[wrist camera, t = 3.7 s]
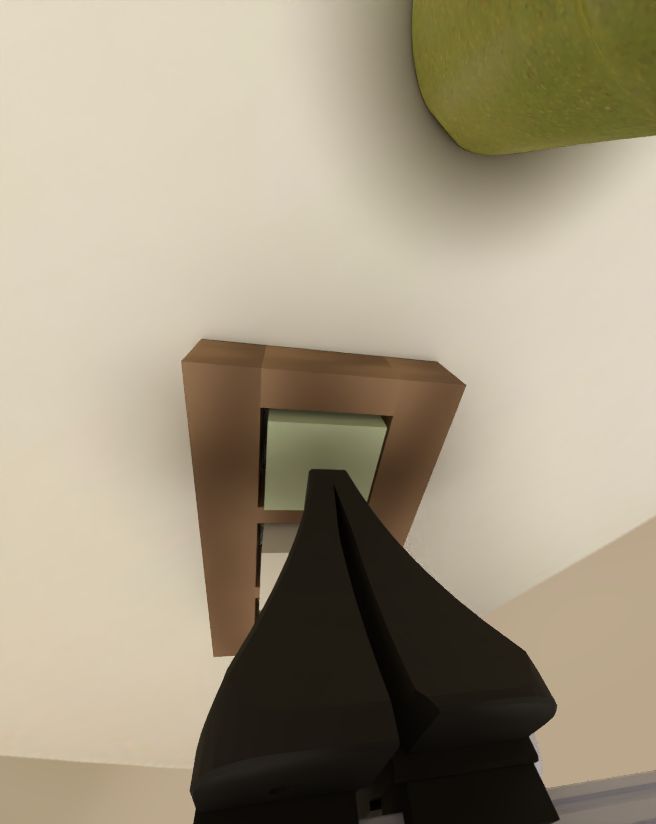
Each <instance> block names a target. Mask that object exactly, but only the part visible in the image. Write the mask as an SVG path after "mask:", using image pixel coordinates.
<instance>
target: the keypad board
mask: <svg viewBox="0 0 656 824" xmlns="http://www.w3.org/2000/svg"><path fill="white" fill-rule="evenodd" d="M181 363H182V372H183V382H184V391H185V400H186V409H187V418H188V427H189V437H190V446H191V455H192V464H193V473H194V482H195V491H196V501H197V510H198V519H199V528H200V537H201V546H202V556H203V565H204V574H205V583H206V592H207V601H208V611H209V620H210V629H211V638H212V647H213V656H214V657H221V656H235V655H236V654H237V652H238V651H239V649H240V647H241V646H242V644H243V642H244V641H245V639H246V637H247V636H248V634H249V632H250V630H251V629H252V627H253V625H254V623H255V621H256V620H257V618H258V616H259V613H260V610H259V601H258V598H260V575H261V552H262V546H259V544H260V523H300V522H301V519H302V516H303V512H304V510H264V500H265V477H266V470H262V458H263V429H264V408H275V409H291V410H307V411H323V412H339V413H355V414H371V415H381V417H382V419H383V421H384V423H385V425H386V427H387V430H386V434H385V437H384V441H383V445H382V448H381V452H380V456H379V459H378V463H377V467H376V470H375V474H374V478H373V481H372V485H371V489H370V492H369V496H368V500H367V503H368V505H369V506H370V507H371V509H372V510H373V511H374V513H375V514H376V515H377V517H378V518H379V519H380V521H381V522H382V523H383V524H384V526H385V527H386V528H387V529H388V531H389V532H390V533H391V534H392V535H393V537H394V538H395V539H396V540H397V541H398V542H399V544H400V545H401V546H402V547H403V545H404V543H405V540H406V538H407V535H408V532H409V530H410V527H411V525H412V522H413V520H414V517H415V515H416V512H417V510H418V507H419V504H420V502H421V499H422V497H423V494H424V492H425V489H426V487H427V484H428V482H429V479H430V476H431V474H432V471H433V469H434V466H435V464H436V461H437V459H438V456H439V454H440V451H441V448H442V446H443V443H444V441H445V438H446V436H447V433H448V431H449V428H450V426H451V423H452V420H453V418H454V415H455V413H456V410H457V408H458V405H459V403H460V400H461V398H462V395H463V392H464V390H465V387H466V385H465V384H464V383H463V382H462V381H460V380H459V379H458V378H457V377H455V376H454V375H453V374H452V373H450V372H449V371H448V370H447V369H446V368H444V367H443V366H442V365H441V364H439V363H438V362H432V361H422V360H412V359H401V358H391V357H380V356H370V355H360V354H349V353H339V352H328V351H318V350H308V349H297V348H287V347H276V346H266V345H256V344H245V343H235V342H224V341H214V340H204V339H201V340H200V341H199V342H198V344H197V345H196V346H195V347H194V348H193V349H192V350H191V351H190V352H189V353H188V355H187V356H186V357H185V358H184V359H183V360H182V361H181ZM257 601H258V602H257Z"/></svg>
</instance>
